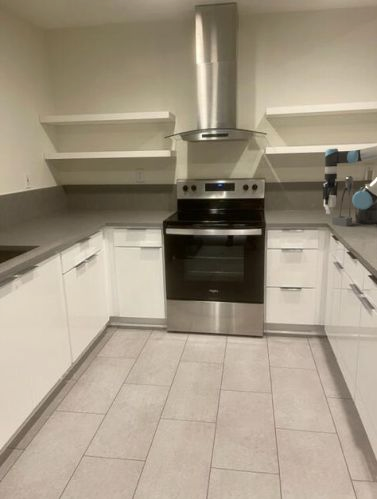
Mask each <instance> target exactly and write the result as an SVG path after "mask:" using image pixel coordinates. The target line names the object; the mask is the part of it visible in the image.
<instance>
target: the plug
mask: <svg viewBox="0 0 377 499" xmlns="http://www.w3.org/2000/svg"><path fill="white" fill-rule="evenodd" d="M329 200H330V204H329V210H325V214H326V215H332V214H334V209H333V207H334V208H335V207H337V206H336V205H337V204H336V203H337V197H336V196H332V195H331V194H330V195H329ZM323 207H324V208H325V200H324V199H323Z"/></svg>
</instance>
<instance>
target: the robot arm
mask: <svg viewBox="0 0 377 499" xmlns="http://www.w3.org/2000/svg"><path fill="white" fill-rule="evenodd" d="M373 159H377V145H375V146H371V147H365V148H361V149H356V150H342V151H339V149H338V148H327V149H325V155H324V180H325V182H324V183H322V199H323V201H324V200H325V207H324V210H325V211H326V210H329V204H330V200H329V195H332V196H336V198H337V197H338V185H339V182H336V180H337V179H338V174H337V173H338V164H339V165H340V164H356V163H358V162H363V161H369V160H373ZM354 193H355V194H354V196H353V195H352V198H351V201H352V204H353V206H354V208H355V207H356V209H357V210H358V211H357V216H356V218H355V219H354V222H355V223H356V224H357V223H358V224H366V225H375V224H376V225H377V176H376V177H375V178H373V179H372V181H370V183H365V184H364V185H363V186H361V187H360V188H359V190H358V191H357V192H354ZM333 210H335V207H333Z"/></svg>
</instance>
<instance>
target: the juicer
mask: <svg viewBox="0 0 377 499" xmlns="http://www.w3.org/2000/svg"><path fill="white" fill-rule="evenodd" d="M344 182H345V187H343V191H342V195H341V200H340V204H339V215H338V216H342V215H341V214H342V208H343V202H344V197H345V193H346V192H347V194H348V201H349V202H348V215H349V216H348V217H351V192H352V197H353V196H354V194H355V193H356V192H355V190H354V187H353V185H354V177H353V176H352V175H347V176H346V177H345V180H344ZM357 210H358V209H357V208H356V207H355V206H354V215H355V218H356V216H357V213H358V211H357Z"/></svg>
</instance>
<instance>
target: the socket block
mask: <svg viewBox="0 0 377 499" xmlns="http://www.w3.org/2000/svg"><path fill="white" fill-rule="evenodd" d="M352 222H353V217H352V216H350V217H349V216H343V215H341V216H339V215H335V216H332V218H331V225H333V226H334V225H335V226H340V227H348V226H349V225H350V226H352V225H353V223H352Z"/></svg>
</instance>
